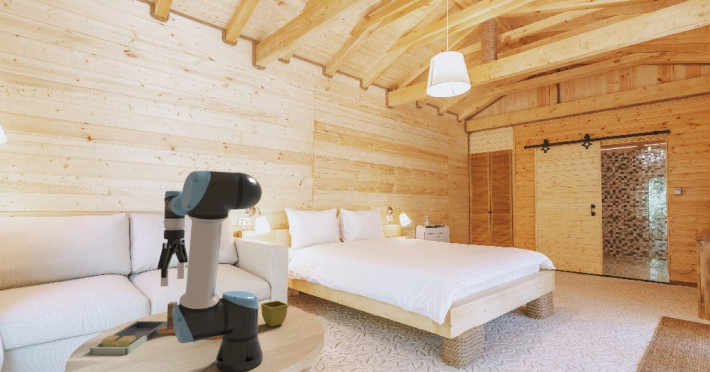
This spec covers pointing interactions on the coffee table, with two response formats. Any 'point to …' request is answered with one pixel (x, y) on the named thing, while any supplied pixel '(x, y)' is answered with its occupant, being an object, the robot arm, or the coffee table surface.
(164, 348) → the coffee table surface
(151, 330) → the dark grey shallow tray
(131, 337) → the light brown cube
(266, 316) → the flower pot
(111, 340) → the tan cube
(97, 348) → the tray
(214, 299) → the robot arm
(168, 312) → the bent wooden stick
